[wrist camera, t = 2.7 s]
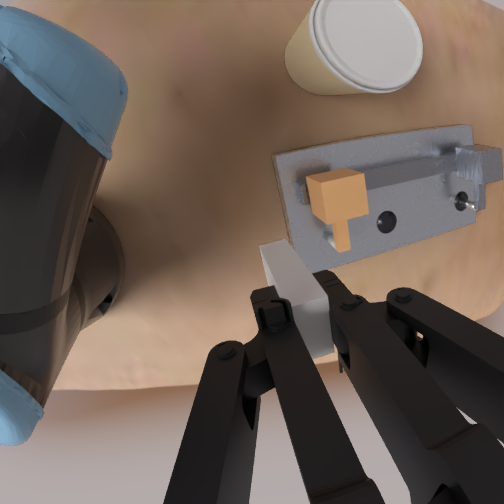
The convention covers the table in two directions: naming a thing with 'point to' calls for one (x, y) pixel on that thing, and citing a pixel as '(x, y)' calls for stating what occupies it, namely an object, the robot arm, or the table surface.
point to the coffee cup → (354, 47)
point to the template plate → (389, 190)
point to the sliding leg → (338, 202)
